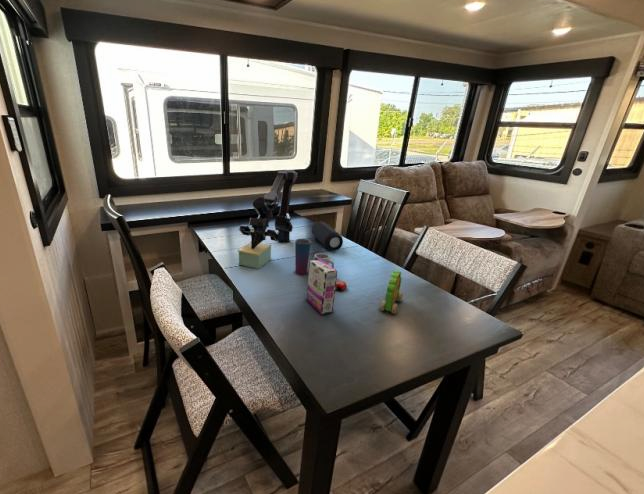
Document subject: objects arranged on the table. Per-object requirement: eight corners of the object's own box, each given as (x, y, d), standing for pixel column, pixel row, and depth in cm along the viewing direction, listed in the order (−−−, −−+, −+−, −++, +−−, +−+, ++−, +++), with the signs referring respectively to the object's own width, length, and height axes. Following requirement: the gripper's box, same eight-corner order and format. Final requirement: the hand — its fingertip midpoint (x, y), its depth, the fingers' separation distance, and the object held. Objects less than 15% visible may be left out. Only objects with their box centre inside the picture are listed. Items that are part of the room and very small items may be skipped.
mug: (310, 269, 143) (311, 255, 141) (319, 264, 148) (320, 252, 145) (329, 276, 137) (330, 262, 134) (337, 271, 141) (338, 258, 139)
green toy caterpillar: (387, 295, 122) (394, 260, 116) (402, 299, 119) (409, 263, 114) (377, 314, 109) (384, 276, 104) (393, 319, 107) (401, 280, 101)
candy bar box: (333, 312, 110) (338, 270, 104) (321, 315, 108) (325, 272, 102) (317, 297, 120) (320, 258, 114) (306, 299, 118) (308, 260, 112)
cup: (310, 271, 141) (313, 240, 136) (305, 277, 136) (307, 245, 130) (296, 268, 144) (298, 237, 138) (291, 273, 138) (292, 242, 132)
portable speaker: (343, 251, 164) (345, 233, 160) (325, 252, 162) (327, 234, 158) (325, 235, 187) (326, 219, 183) (309, 236, 185) (310, 220, 181)
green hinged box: (258, 268, 142) (258, 255, 140) (238, 264, 146) (238, 251, 144) (270, 259, 153) (271, 246, 150) (251, 255, 157) (251, 242, 154)
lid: (258, 255, 139) (258, 254, 139) (237, 251, 143) (237, 250, 143) (271, 246, 150) (271, 244, 150) (251, 242, 154) (251, 241, 154)
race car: (347, 287, 128) (349, 278, 126) (344, 292, 123) (345, 284, 122) (317, 279, 133) (318, 271, 132) (313, 285, 129) (313, 276, 127)
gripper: (240, 208, 146) (228, 237, 141) (276, 213, 139) (264, 244, 134) (248, 220, 156) (237, 247, 151) (282, 226, 148) (272, 254, 143)
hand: (252, 248), depth 144 cm, fingers closed, pressing on lid
